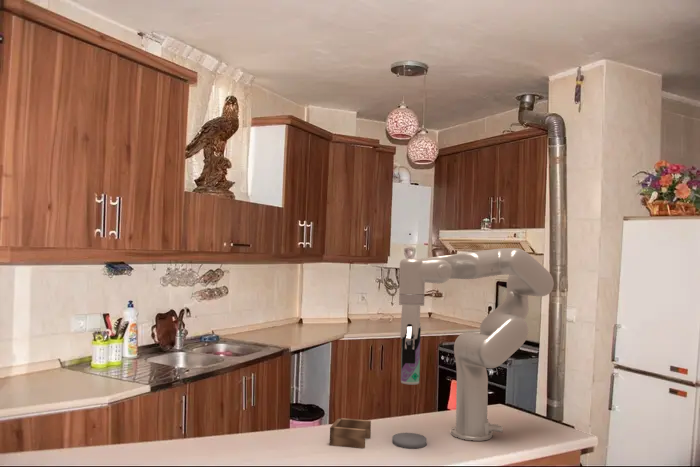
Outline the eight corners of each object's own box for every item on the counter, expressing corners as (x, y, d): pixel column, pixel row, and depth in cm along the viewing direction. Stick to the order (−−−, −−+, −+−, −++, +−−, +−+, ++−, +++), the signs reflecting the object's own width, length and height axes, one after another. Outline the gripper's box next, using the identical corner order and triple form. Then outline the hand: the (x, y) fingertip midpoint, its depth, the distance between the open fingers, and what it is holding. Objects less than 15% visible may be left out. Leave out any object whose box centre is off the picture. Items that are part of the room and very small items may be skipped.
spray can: (404, 385, 163) (406, 315, 164) (398, 380, 168) (399, 313, 169) (422, 384, 165) (423, 315, 166) (415, 380, 170) (416, 314, 171)
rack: (370, 437, 170) (370, 420, 171) (364, 448, 160) (364, 430, 160) (337, 434, 172) (338, 417, 173) (329, 445, 162) (330, 427, 162)
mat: (427, 439, 170) (427, 434, 170) (425, 450, 160) (425, 444, 160) (394, 436, 172) (394, 431, 172) (390, 446, 162) (390, 441, 162)
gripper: (402, 297, 177) (401, 355, 176) (395, 301, 160) (394, 365, 159) (426, 298, 175) (425, 357, 174) (422, 302, 158) (421, 367, 158)
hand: (410, 360), depth 167 cm, fingers closed on spray can, 5 cm apart
